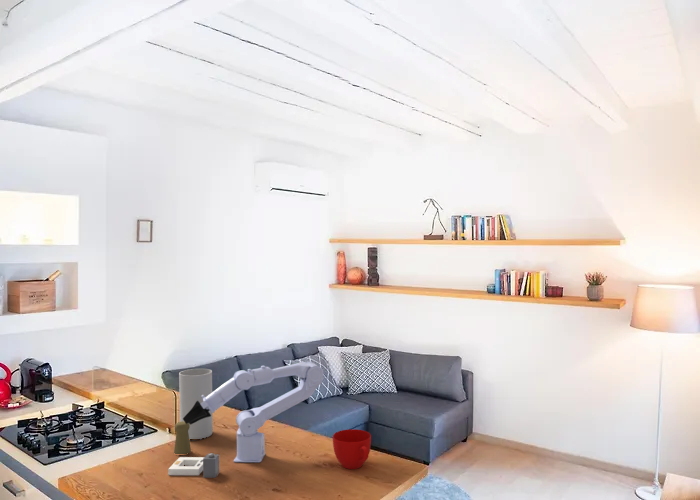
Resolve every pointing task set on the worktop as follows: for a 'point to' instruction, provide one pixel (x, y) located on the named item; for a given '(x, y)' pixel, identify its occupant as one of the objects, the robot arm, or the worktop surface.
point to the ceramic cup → (352, 447)
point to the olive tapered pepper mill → (182, 438)
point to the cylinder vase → (195, 399)
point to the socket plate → (187, 466)
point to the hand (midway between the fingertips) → (186, 421)
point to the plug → (210, 465)
